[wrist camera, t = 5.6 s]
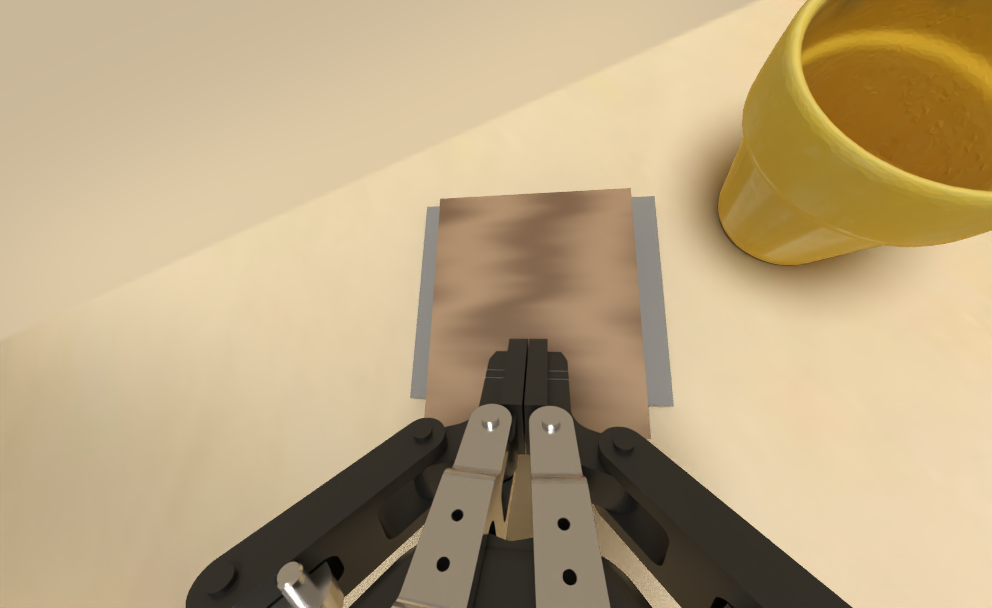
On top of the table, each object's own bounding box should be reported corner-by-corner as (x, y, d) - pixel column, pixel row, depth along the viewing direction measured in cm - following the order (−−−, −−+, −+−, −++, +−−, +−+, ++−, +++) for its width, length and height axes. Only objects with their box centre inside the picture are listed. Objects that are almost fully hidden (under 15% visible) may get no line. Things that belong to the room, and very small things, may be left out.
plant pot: (903, 161, 21) (1198, -39, 11) (864, 327, 19) (1179, 251, 9) (713, 117, 23) (825, -78, 14) (661, 260, 21) (750, 147, 12)
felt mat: (414, 398, 21) (410, 397, 20) (430, 211, 24) (427, 206, 24) (669, 406, 19) (673, 406, 18) (651, 201, 22) (654, 196, 21)
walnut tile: (423, 430, 17) (440, 198, 20) (442, 425, 20) (454, 225, 23) (650, 438, 15) (630, 188, 18) (634, 432, 18) (619, 218, 21)
